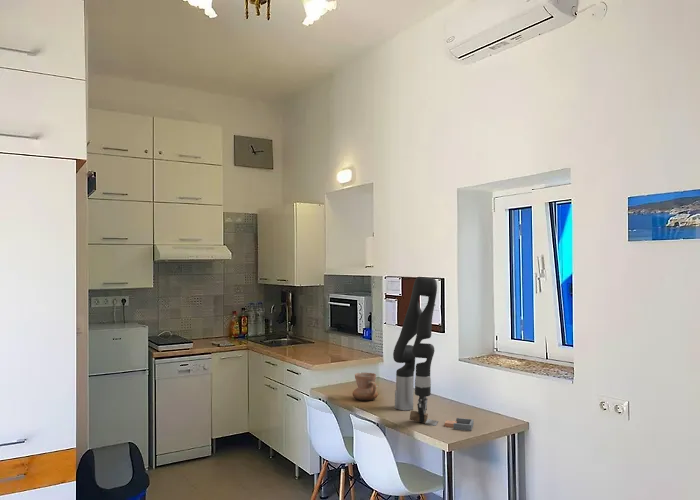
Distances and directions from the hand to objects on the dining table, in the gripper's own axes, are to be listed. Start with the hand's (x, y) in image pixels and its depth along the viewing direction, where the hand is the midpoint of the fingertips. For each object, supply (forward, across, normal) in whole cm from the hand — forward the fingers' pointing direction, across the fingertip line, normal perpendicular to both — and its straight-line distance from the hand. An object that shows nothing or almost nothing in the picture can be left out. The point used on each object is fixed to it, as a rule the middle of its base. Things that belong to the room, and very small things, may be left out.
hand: (422, 421), depth 262 cm
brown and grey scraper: (0, 0, 0) cm, 1 cm away
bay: (+1, 0, +19) cm, 19 cm away
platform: (+1, -56, -42) cm, 70 cm away
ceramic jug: (+1, -36, -39) cm, 53 cm away
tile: (+1, 0, +14) cm, 14 cm away
